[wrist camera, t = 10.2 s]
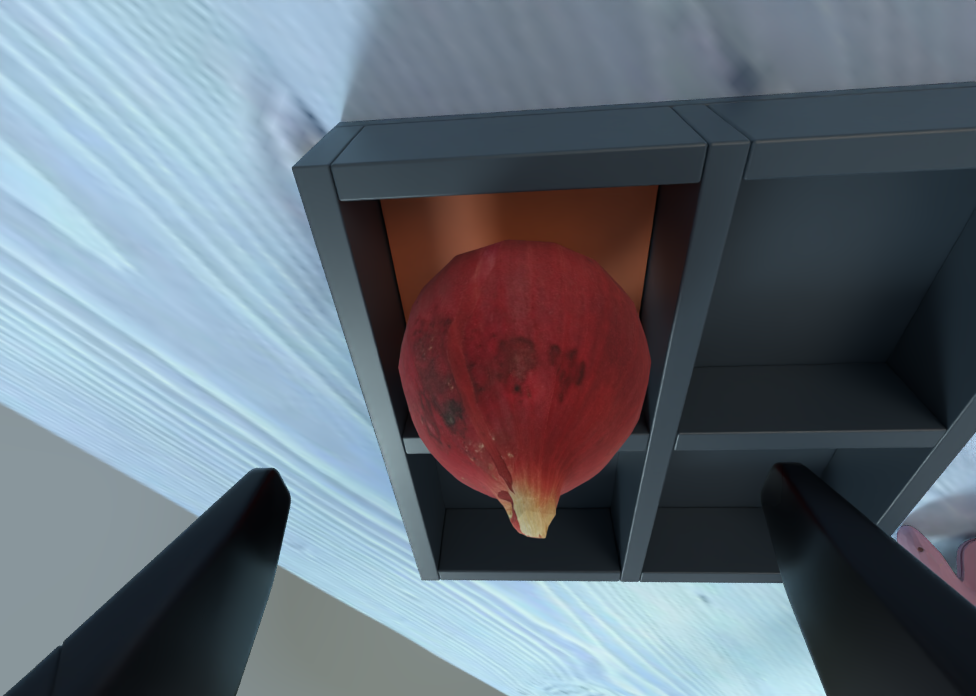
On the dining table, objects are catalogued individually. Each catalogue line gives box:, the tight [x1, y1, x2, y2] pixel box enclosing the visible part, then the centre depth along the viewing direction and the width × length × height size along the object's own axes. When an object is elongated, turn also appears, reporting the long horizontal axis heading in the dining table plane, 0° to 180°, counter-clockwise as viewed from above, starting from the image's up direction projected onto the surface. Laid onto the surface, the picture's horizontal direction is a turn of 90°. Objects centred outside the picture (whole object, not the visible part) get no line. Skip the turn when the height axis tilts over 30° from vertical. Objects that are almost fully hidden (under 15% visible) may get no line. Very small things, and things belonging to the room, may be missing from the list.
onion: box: [398, 239, 651, 538], centre depth 12 cm, size 6×6×8 cm
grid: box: [292, 82, 976, 583], centre depth 16 cm, size 17×17×4 cm
